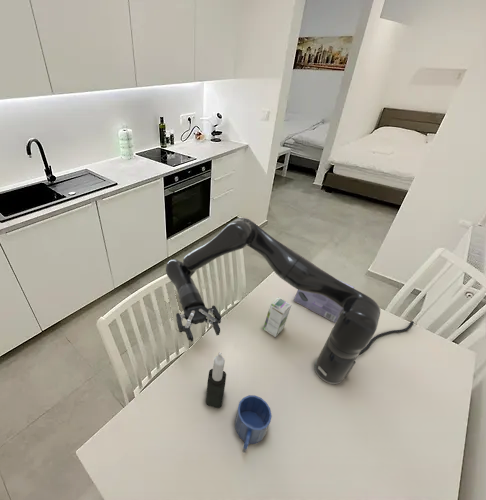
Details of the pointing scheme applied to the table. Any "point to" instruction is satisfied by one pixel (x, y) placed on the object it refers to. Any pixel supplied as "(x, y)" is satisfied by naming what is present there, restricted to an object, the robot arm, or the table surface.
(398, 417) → the table surface
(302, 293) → the cake pan box
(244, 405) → the mug
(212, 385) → the candle
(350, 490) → the table surface
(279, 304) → the syrup box
